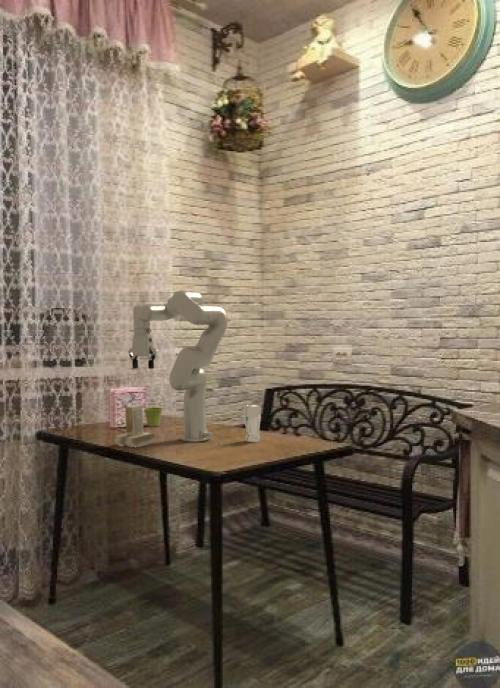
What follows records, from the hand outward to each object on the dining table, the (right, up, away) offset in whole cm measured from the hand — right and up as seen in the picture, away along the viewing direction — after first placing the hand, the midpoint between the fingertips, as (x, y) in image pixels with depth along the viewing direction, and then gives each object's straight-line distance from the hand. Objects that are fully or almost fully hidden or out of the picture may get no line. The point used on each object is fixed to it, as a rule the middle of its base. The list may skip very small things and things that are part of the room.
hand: (143, 368), depth 279 cm
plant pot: (+1, -30, +21) cm, 37 cm away
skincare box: (+1, -27, -26) cm, 38 cm away
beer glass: (+51, -30, -26) cm, 65 cm away
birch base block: (+1, -31, -26) cm, 41 cm away
